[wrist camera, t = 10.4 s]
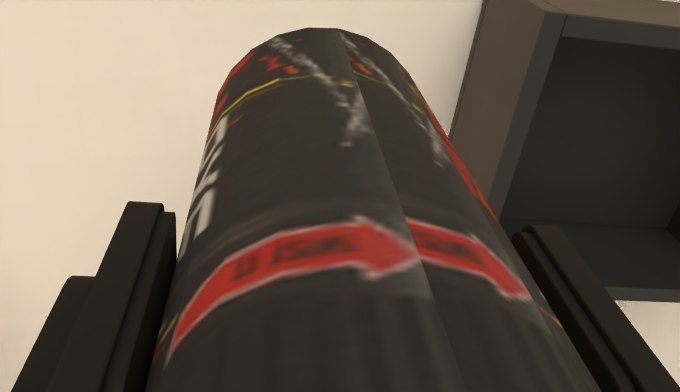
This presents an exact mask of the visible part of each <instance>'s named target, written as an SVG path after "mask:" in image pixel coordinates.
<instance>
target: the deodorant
mask: <svg viewBox="0 0 680 392" xmlns="http://www.w3.org/2000/svg"><path fill="white" fill-rule="evenodd" d="M144 392H602V391H601V390H600V388H599V387H598V385H597V383H596V382H595V380H594V378H593V377H592V375H591V373H590V372H589V370H588V368H587V367H586V365H585V363H584V362H583V360H582V358H581V357H580V355H579V354H578V352H577V350H576V349H575V347H574V345H573V344H572V342H571V340H570V339H569V337H568V335H567V334H566V332H565V330H564V329H563V327H562V325H561V324H560V322H559V321H558V319H557V317H556V316H555V314H554V312H553V311H552V309H551V307H550V306H549V304H548V302H547V301H546V299H545V297H544V296H543V294H542V292H541V291H540V289H539V288H538V286H537V284H536V283H535V281H534V279H533V278H532V276H531V274H530V273H529V271H528V269H527V268H526V266H525V264H524V263H523V261H522V259H521V258H520V256H519V255H518V253H517V251H516V250H515V248H514V246H513V245H512V243H511V241H510V240H509V238H508V236H507V235H506V233H505V231H504V230H503V228H502V226H501V225H500V223H499V222H498V220H497V218H496V217H495V215H494V213H493V212H492V210H491V208H490V207H489V205H488V203H487V202H486V200H485V198H484V197H483V195H482V193H481V192H480V190H479V189H478V187H477V185H476V184H475V182H474V180H473V179H472V177H471V175H470V174H469V172H468V170H467V169H466V167H465V165H464V164H463V162H462V160H461V159H460V157H459V156H458V154H457V152H456V151H455V149H454V147H453V146H452V144H451V142H450V141H449V139H448V137H447V136H446V134H445V132H444V131H443V129H442V127H441V126H440V124H439V123H438V121H437V119H436V118H435V116H434V114H433V113H432V111H431V109H430V108H429V106H428V104H427V103H426V101H425V99H424V98H423V96H422V94H421V93H420V91H419V90H418V88H417V86H416V85H415V83H414V81H413V80H412V78H411V76H410V75H409V73H408V72H407V71H406V70H405V68H404V67H403V66H402V65H401V64H400V63H399V62H398V61H397V59H396V58H395V57H394V56H393V55H392V54H391V53H390V52H389V51H387V50H386V49H384V48H383V47H381V46H379V45H378V44H376V43H375V42H373V41H372V40H370V39H369V38H367V37H364V36H361V35H358V34H355V33H351V32H348V31H345V30H341V29H337V28H305V29H300V30H296V31H292V32H288V33H284V34H280V35H277V36H275V37H273V38H272V39H270V40H268V41H266V42H264V43H262V44H261V45H259V46H257V47H255V48H253V49H252V50H251V51H250V52H249V53H248V54H247V55H246V56H245V57H244V58H243V59H242V60H241V61H240V62H239V63H237V64H236V65H235V66H234V67H233V68H232V70H231V71H230V73H229V75H228V77H227V78H226V80H225V82H224V84H223V86H222V87H221V89H220V91H219V93H218V96H217V100H216V104H215V108H214V112H213V116H212V120H211V124H210V128H209V132H208V136H207V140H206V145H205V149H204V153H203V157H202V161H201V165H200V169H199V173H198V177H197V181H196V185H195V189H194V193H193V197H192V201H191V205H190V209H189V213H188V217H187V221H186V225H185V229H184V234H183V238H182V242H181V246H180V250H179V254H178V258H177V262H176V266H175V270H174V274H173V278H172V282H171V286H170V290H169V294H168V298H167V302H166V306H165V310H164V314H163V318H162V323H161V327H160V331H159V335H158V339H157V343H156V347H155V351H154V355H153V359H152V363H151V367H150V371H149V375H148V379H147V383H146V387H145V391H144Z"/></svg>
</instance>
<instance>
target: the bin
mask: <svg viewBox="0 0 680 392" xmlns="http://www.w3.org/2000/svg"><path fill="white" fill-rule="evenodd" d="M448 139H449V141H450V142H451V144H452V146H453V147H454V149H455V151H456V152H457V154H458V156H459V157H460V159H461V160H462V162H463V164H464V165H465V167H466V169H467V170H468V172H469V174H470V175H471V177H472V179H473V180H474V182H475V184H476V185H477V187H478V189H479V190H480V192H481V193H482V195H483V197H484V198H485V200H486V202H487V203H488V205H489V207H490V208H491V210H492V212H493V213H494V215H495V217H496V218H497V220H498V222H499V223H500V225H501V226H502V228H503V230H504V231H505V233H506V235H507V236H508V238H509V240H511V238H512V236H513V234H514V233H516V232H521V230H522V228H523V227H524V226H526V225H537V226H553V227H558V228H559V229H560V230H561V231H562V233H563V234H564V235H565V237H566V238H567V239H568V240H569V242H570V243H571V244H572V246H573V247H574V248H575V250H576V251H577V252H578V254H579V255H580V256H581V258H582V259H583V260H584V262H585V263H586V264H587V266H588V267H589V268H590V270H591V271H592V272H593V274H594V275H595V276H596V277H597V279H598V280H599V281H600V283H601V284H602V285H603V287H604V288H605V289H606V291H607V292H608V293H609V295H610V296H611V297H612V299H613V300H623V301H650V302H677V303H680V3H676V2H668V1H661V0H483V4H482V8H481V12H480V16H479V20H478V24H477V28H476V32H475V36H474V40H473V44H472V48H471V51H470V55H469V59H468V63H467V67H466V71H465V75H464V79H463V83H462V87H461V91H460V95H459V99H458V103H457V106H456V110H455V114H454V118H453V122H452V126H451V130H450V134H449V138H448Z"/></svg>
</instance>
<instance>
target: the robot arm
mask: <svg viewBox="0 0 680 392" xmlns="http://www.w3.org/2000/svg"><path fill="white" fill-rule="evenodd" d="M510 241H511V243H512V245H513V246H514V248H515V250H516V251H517V253H518V255H519V256H520V258H521V259H522V261H523V263H524V264H525V266H526V268H527V269H528V271H529V273H530V274H531V276H532V278H533V279H534V281H535V283H536V284H537V286H538V288H539V289H540V291H541V292H542V294H543V296H544V297H545V299H546V301H547V302H548V304H549V306H550V307H551V309H552V311H553V312H554V314H555V316H556V317H557V319H558V321H559V322H560V324H561V325H562V327H563V329H564V330H565V332H566V334H567V335H568V337H569V339H570V340H571V342H572V344H573V345H574V347H575V349H576V350H577V352H578V354H579V355H580V357H581V358H582V360H583V362H584V363H585V365H586V367H587V368H588V370H589V372H590V373H591V375H592V377H593V378H594V380H595V382H596V383H597V385H598V387H599V388H600V390H601V391H602V392H680V387H679V386H678V384H677V383H676V382H675V380H674V379H673V378H672V376H671V375H670V374H669V373H668V371H667V370H666V369H665V367H664V366H663V365H662V363H661V362H660V361H659V359H658V358H657V357H656V355H655V354H654V353H653V351H652V350H651V349H650V347H649V346H648V345H647V343H646V342H645V341H644V340H643V338H642V337H641V336H640V334H639V333H638V332H637V330H636V329H635V328H634V326H633V325H632V324H631V322H630V321H629V320H628V318H627V317H626V316H625V314H624V313H623V312H622V310H621V309H620V308H619V307H618V305H617V304H616V303H615V301H614V300H613V299H612V297H611V296H610V295H609V293H608V292H607V291H606V289H605V288H604V287H603V285H602V284H601V283H600V281H599V280H598V279H597V277H596V276H595V275H594V274H593V272H592V271H591V270H590V268H589V267H588V266H587V264H586V263H585V262H584V260H583V259H582V258H581V256H580V255H579V254H578V252H577V251H576V250H575V248H574V247H573V246H572V244H571V243H570V242H569V240H568V239H567V238H566V237H565V235H564V234H563V233H562V231H561V230H560V229H559V228H558V227H553V226H537V225H526V226H524V227H523V228H522V230H521V232H516V233H514V234H513V236H512V238H511V240H510ZM176 262H177V253H176V216H175V212H164V205H163V204H162V203H150V202H133V201H129V202H128V203H127V205H126V207H125V209H124V212H123V214H122V216H121V219H120V221H119V223H118V225H117V228H116V230H115V232H114V235H113V237H112V239H111V242H110V244H109V246H108V249H107V251H106V253H105V256H104V258H103V260H102V263H101V265H100V267H99V270H98V272H97V274H96V277H92V276H71V277H69V278H68V279H67V281H66V282H65V284H64V286H63V288H62V290H61V292H60V294H59V296H58V298H57V300H56V302H55V304H54V306H53V308H52V310H51V312H50V314H49V316H48V318H47V320H46V322H45V324H44V326H43V328H42V330H41V332H40V334H39V336H38V338H37V340H36V342H35V344H34V346H33V348H32V350H31V352H30V354H29V356H28V358H27V360H26V362H25V364H24V366H23V368H22V370H21V372H20V374H19V376H18V378H17V380H16V382H15V384H14V386H13V388H12V390H11V392H144V391H145V387H146V383H147V379H148V375H149V371H150V367H151V363H152V359H153V355H154V351H155V347H156V343H157V339H158V335H159V331H160V327H161V323H162V318H163V314H164V310H165V306H166V302H167V298H168V294H169V290H170V286H171V282H172V278H173V274H174V270H175V266H176Z"/></svg>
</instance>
